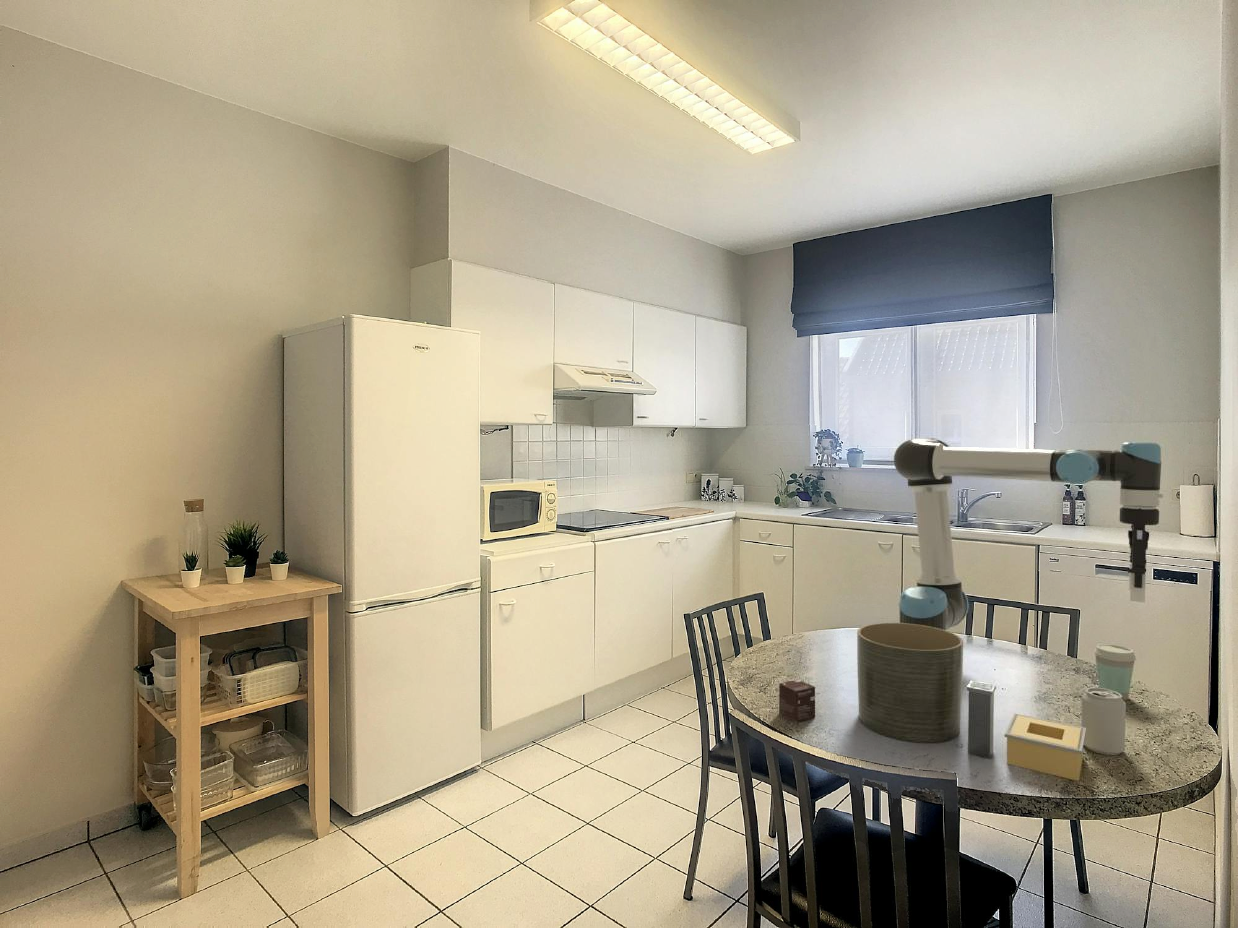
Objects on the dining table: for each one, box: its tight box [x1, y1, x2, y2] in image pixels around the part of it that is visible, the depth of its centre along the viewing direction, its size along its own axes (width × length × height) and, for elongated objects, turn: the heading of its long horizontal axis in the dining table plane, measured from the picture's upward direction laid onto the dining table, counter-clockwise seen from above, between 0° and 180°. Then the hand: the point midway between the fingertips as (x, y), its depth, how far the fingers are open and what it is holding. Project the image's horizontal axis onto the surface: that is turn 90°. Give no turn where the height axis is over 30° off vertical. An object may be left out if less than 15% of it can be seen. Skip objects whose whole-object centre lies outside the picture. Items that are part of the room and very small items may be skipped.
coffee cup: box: [1093, 643, 1137, 701], centre depth 172 cm, size 8×9×12 cm
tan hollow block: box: [1004, 712, 1086, 782], centre depth 138 cm, size 13×13×6 cm
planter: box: [856, 622, 964, 744], centre depth 157 cm, size 22×22×20 cm
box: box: [778, 679, 816, 723], centre depth 162 cm, size 6×6×7 cm
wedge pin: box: [966, 680, 997, 760], centre depth 142 cm, size 5×5×14 cm
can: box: [1080, 687, 1127, 756], centre depth 143 cm, size 8×8×12 cm
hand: (1136, 595), depth 165 cm, fingers open, 13 cm apart
